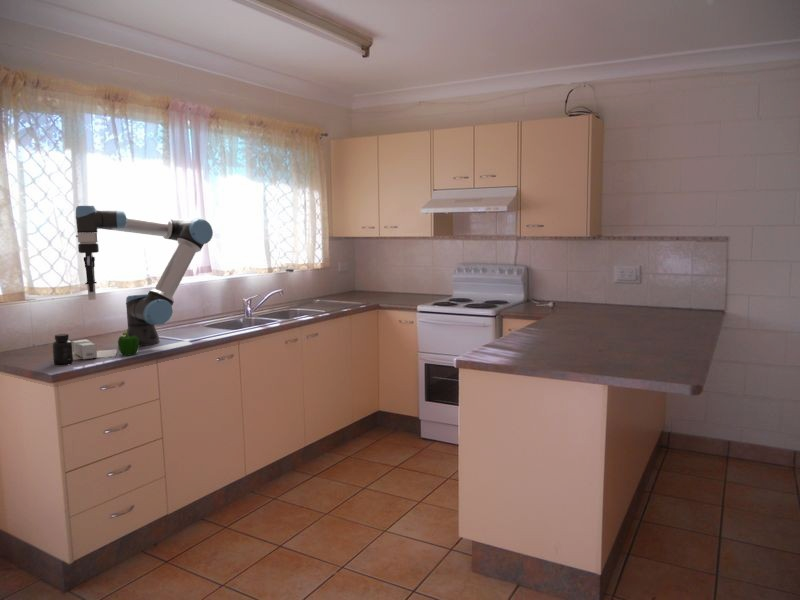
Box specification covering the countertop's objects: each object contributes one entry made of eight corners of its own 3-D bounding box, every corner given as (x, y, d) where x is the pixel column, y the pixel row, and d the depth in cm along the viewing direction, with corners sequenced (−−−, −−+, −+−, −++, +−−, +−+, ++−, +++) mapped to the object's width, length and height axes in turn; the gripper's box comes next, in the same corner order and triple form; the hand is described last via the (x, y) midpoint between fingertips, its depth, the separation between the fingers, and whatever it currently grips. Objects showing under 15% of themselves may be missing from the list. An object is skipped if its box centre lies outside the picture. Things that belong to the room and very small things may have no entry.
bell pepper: (132, 351, 265) (130, 329, 263) (143, 354, 260) (141, 331, 259) (113, 355, 258) (112, 332, 256) (124, 357, 253) (123, 334, 252)
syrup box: (97, 357, 251) (87, 352, 262) (96, 343, 251) (86, 339, 261) (82, 359, 247) (72, 354, 258) (81, 345, 247) (71, 340, 257)
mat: (117, 350, 268) (117, 349, 268) (115, 357, 254) (115, 356, 254) (71, 353, 261) (71, 352, 261) (67, 360, 247) (66, 359, 247)
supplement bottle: (49, 365, 239) (47, 335, 238) (64, 361, 246) (62, 332, 244) (62, 366, 237) (60, 336, 235) (77, 363, 243) (75, 333, 242)
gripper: (79, 242, 255) (83, 298, 258) (76, 243, 243) (80, 301, 246) (99, 242, 258) (103, 297, 261) (97, 243, 246) (101, 300, 249)
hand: (92, 299), depth 254 cm, fingers closed
